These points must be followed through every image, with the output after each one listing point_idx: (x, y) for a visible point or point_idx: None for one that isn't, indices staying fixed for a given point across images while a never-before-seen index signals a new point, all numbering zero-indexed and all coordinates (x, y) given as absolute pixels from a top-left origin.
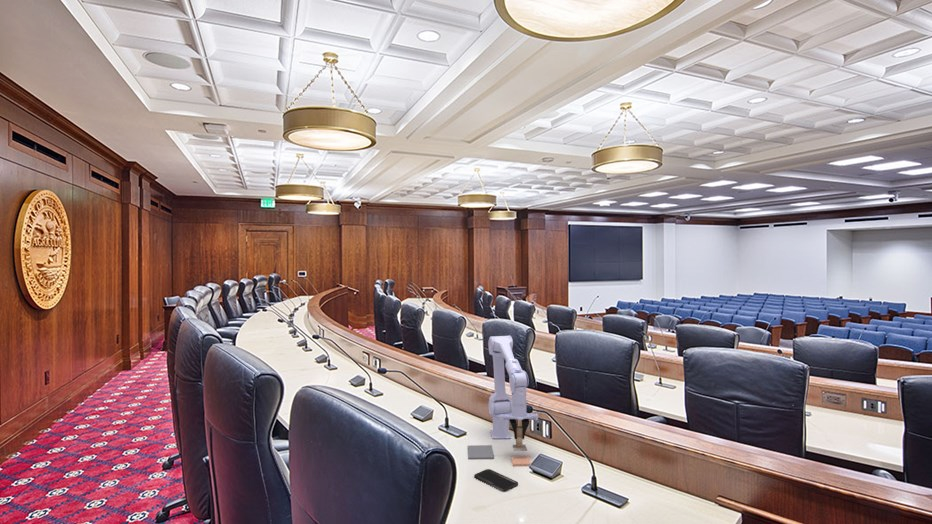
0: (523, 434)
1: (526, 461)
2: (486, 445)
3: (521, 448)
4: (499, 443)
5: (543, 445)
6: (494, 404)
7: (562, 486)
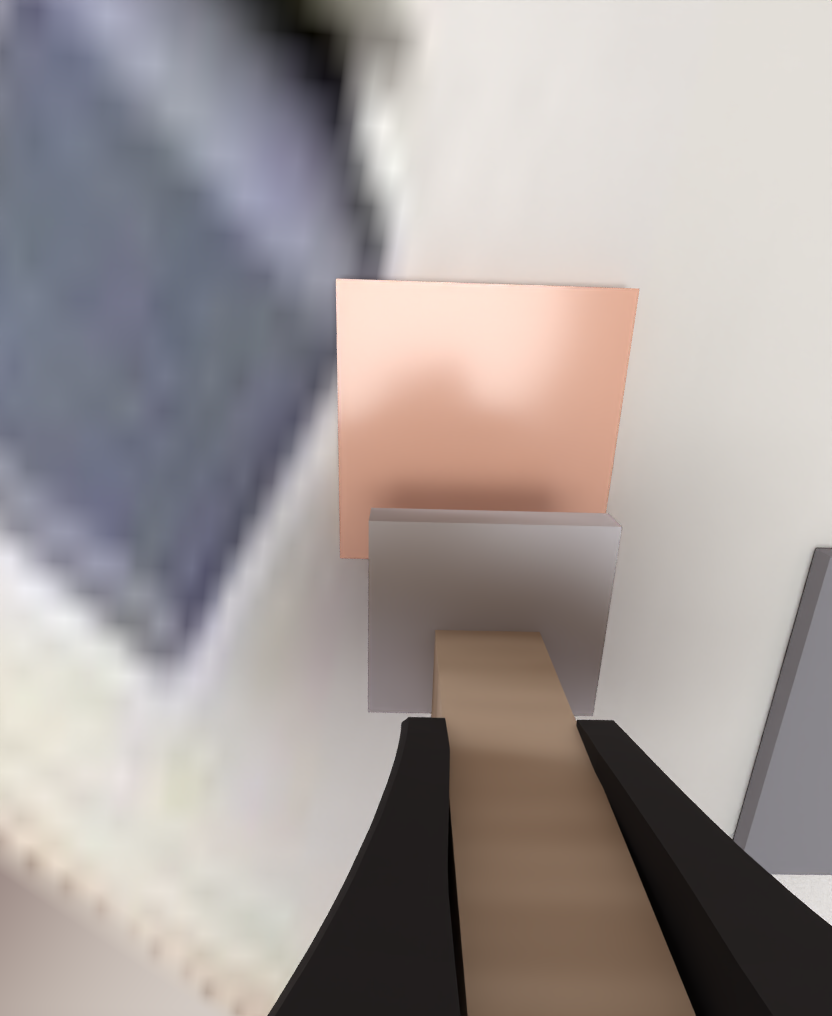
0: (425, 797)
1: (405, 369)
2: (801, 869)
3: (470, 553)
4: None
5: (114, 860)
6: None
7: None
